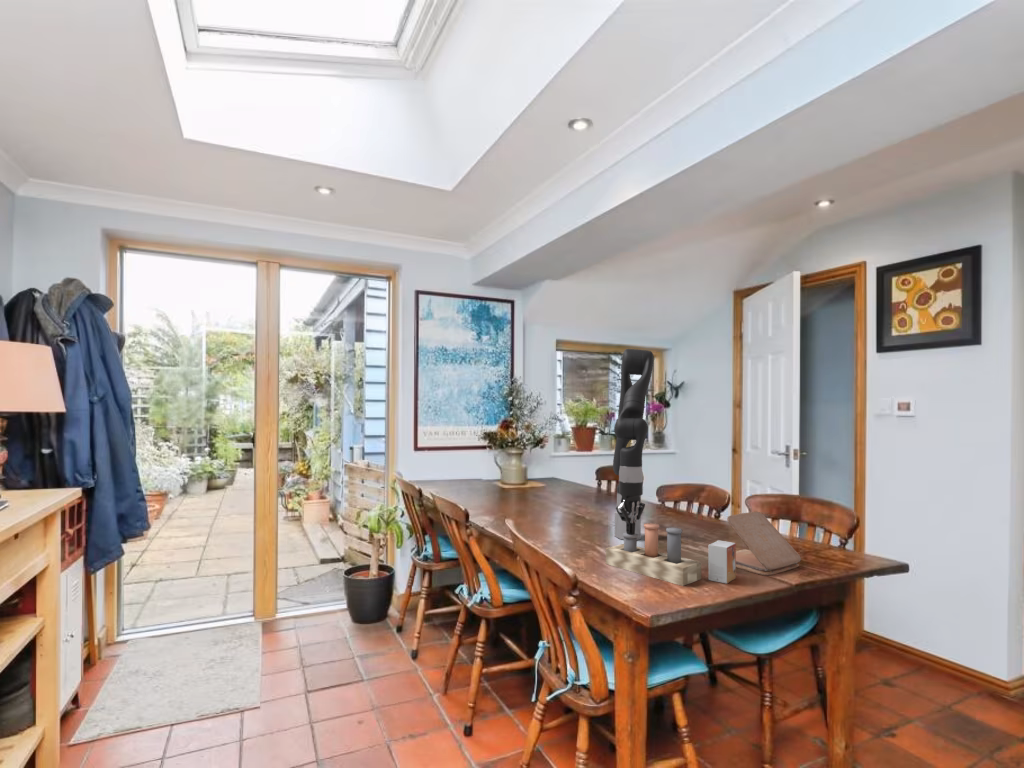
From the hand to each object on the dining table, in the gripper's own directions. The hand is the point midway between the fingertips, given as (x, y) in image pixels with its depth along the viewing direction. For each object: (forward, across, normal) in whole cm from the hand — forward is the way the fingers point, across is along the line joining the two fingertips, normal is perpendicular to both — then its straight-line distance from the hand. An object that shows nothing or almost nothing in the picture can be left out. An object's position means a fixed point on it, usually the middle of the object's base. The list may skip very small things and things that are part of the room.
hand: (630, 534), depth 177 cm
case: (+10, -34, +25) cm, 43 cm away
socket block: (+10, 0, +8) cm, 13 cm away
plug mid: (+6, 0, +8) cm, 10 cm away
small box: (+10, -10, +26) cm, 30 cm away
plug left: (+10, 0, 0) cm, 10 cm away
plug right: (+6, 0, +16) cm, 17 cm away
